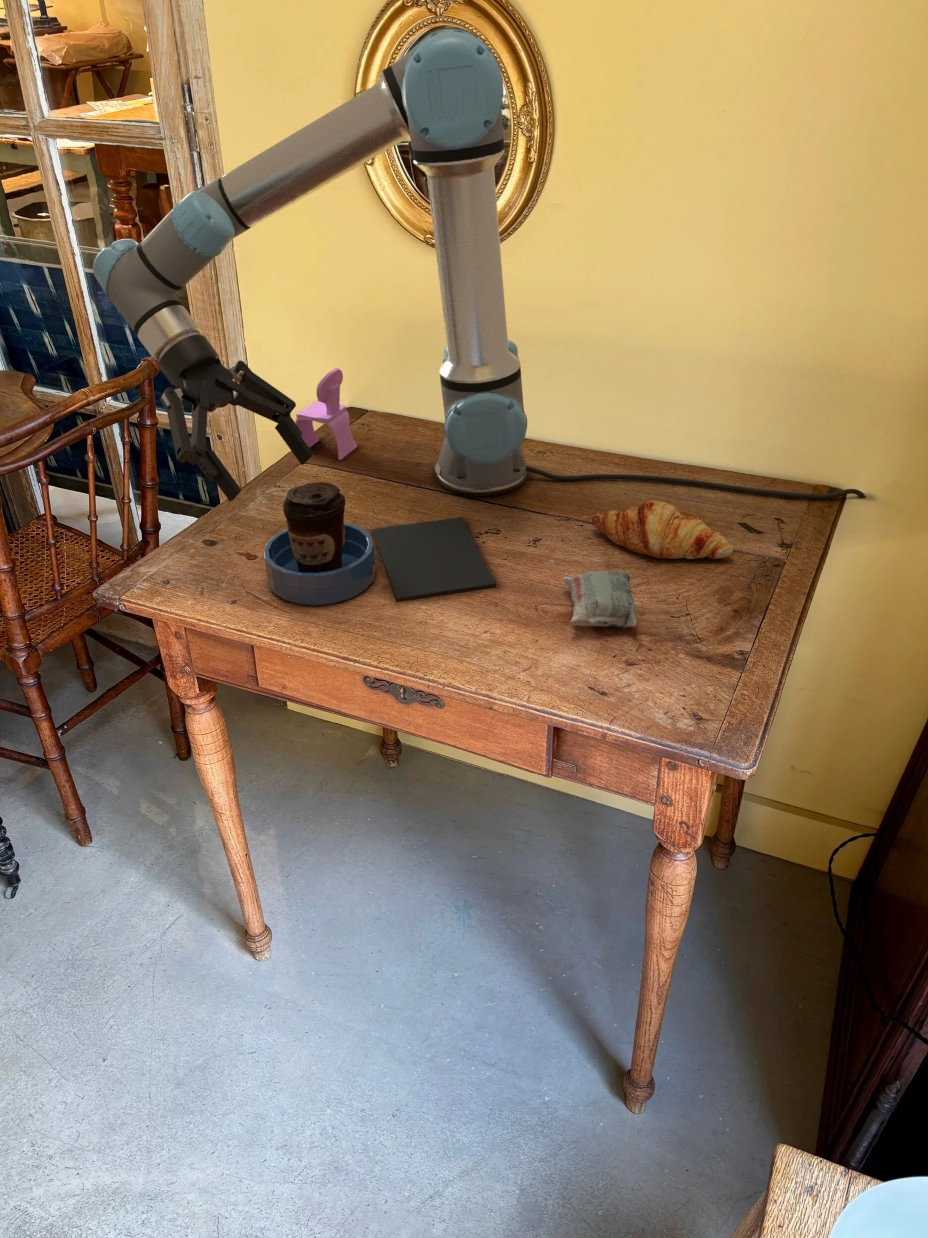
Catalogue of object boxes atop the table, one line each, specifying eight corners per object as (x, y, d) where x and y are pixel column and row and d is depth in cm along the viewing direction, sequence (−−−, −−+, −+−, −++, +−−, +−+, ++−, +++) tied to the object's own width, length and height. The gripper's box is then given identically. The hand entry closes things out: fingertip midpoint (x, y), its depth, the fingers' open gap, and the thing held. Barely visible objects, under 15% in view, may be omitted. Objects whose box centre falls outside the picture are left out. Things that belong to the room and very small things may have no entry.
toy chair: (318, 437, 173) (309, 357, 165) (360, 444, 170) (353, 363, 162) (294, 454, 167) (283, 372, 158) (337, 462, 164) (329, 379, 155)
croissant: (731, 571, 138) (744, 518, 137) (723, 573, 129) (738, 516, 127) (594, 541, 145) (605, 490, 144) (577, 541, 136) (589, 486, 135)
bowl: (366, 544, 140) (363, 515, 137) (383, 597, 128) (381, 566, 125) (265, 558, 137) (260, 528, 134) (273, 614, 125) (268, 582, 122)
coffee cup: (340, 594, 128) (331, 509, 121) (283, 588, 129) (270, 504, 122) (359, 561, 135) (351, 480, 128) (304, 556, 136) (293, 475, 129)
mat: (461, 520, 146) (461, 516, 145) (496, 586, 130) (496, 583, 129) (372, 532, 143) (372, 528, 143) (396, 601, 127) (396, 598, 127)
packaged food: (568, 639, 119) (570, 607, 116) (562, 589, 129) (564, 558, 126) (637, 640, 119) (641, 608, 116) (626, 590, 128) (629, 559, 126)
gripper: (238, 340, 138) (323, 458, 139) (95, 391, 122) (192, 525, 123) (258, 309, 133) (346, 432, 134) (111, 359, 116) (212, 499, 117)
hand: (273, 477), depth 128 cm, fingers open, 13 cm apart
